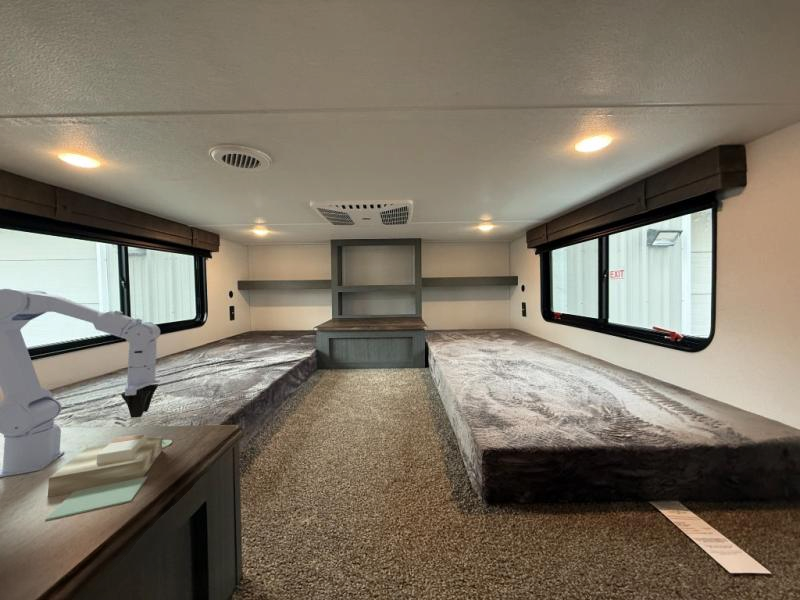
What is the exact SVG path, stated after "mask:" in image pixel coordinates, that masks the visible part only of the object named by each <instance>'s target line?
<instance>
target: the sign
mask: <svg viewBox="0 0 800 600" xmlns="http://www.w3.org/2000/svg"><path fill="white" fill-rule="evenodd" d="M172 441H173V440H171V439H162V449H165V448H167V447H169V445H170V444H171V443H172V444H173V442H172ZM172 444H171V445H172ZM171 445H170V446H171Z"/></svg>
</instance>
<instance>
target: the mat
mask: <svg viewBox="0 0 800 600" xmlns="http://www.w3.org/2000/svg"><path fill="white" fill-rule="evenodd" d="M147 479H148V476H143V477H142V478H137V479H132V480H127V481H122V482H117V483H112V484H107V485H102V486H97V487H92V488H87V489H82V490H77V491H74V492H72V493H70V495H68V497H66V498H65V500H63V501H62V502H61V503H60V505H58V506H57V507H56V508H55V509H54V510H53V511H52V512H51V513H50V514H49V515H48V516H46V517H45V519H44V522H47V521H50V520H54V519H55V520H56V519H59V518H64V517H68V516H72V515H78V514H82V513H86V512H91V511H94V510H100V509H103V508H107V507H113V506H116V505H121V504H126V503H130V502H132V501H133V500H134V498H135V496H136V495H137V494H138V492H139V491H140V489H141V487H143V484H144V483H146V480H147Z"/></svg>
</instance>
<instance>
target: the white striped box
mask: <svg viewBox="0 0 800 600" xmlns="http://www.w3.org/2000/svg"><path fill="white" fill-rule="evenodd" d="M146 438H147V433H142V434H136V435H129V436H128V435H127V436H123V437H115V438H114V439H113V440H112V441H111V442H110V443H108V444H109V445H108V446H106V447H105V448H104V449H103V450H102V451H101V452H100V453H98V454H97V463H103V462H109V461H115V460H121V459H126V458H131V457H132V456H133V455H134V454H135V453H136V452H137V451H138V450H139V448H140V447H141V446H142V445H143V444H144V443H145V442H146ZM97 463H96V464H97Z"/></svg>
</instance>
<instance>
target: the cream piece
mask: <svg viewBox="0 0 800 600" xmlns="http://www.w3.org/2000/svg"><path fill="white" fill-rule="evenodd" d="M162 440H163V435H161V436H154V437H146V442H145V443H144V444H143V445H142V446H141V447H140V448H139V450H138V451H137V452H136V453H135V454H134V455H133V456H132V457H131V458H126V459H121V460H115V461H109V462H103V463H97V454H98V453H100V452H101V451H102V450H103V449H104V448H105V447H106V446H108V445H109V444H110V443H108V444H102V445H95V446H89V447H88V446H87V447H86V448H85V449H84V450H82V451H81V452H79V453H78V454H77V455H76V456H75V457H73V458H72V459H71V460H69V461H68V462H67V463H66V464H64V465H63V466H62V467H60V468H59V469H58V470H57V471H55V472H54V473H52V475H50V476H49V477H48V484H47V486H48V488H47V498H51V497H56V496H61V495H65V494H72V493H73V492H74V491H77V490H82V489H87V488H92V487H97V486H102V485H107V484H112V483H117V482H122V481H127V480H132V479H137V478H142V477H145V475H146V473H147V472H148V471H149V469H150V468H151V467H152V465H153V464H154V462H155V461H156V460H157V458H158V457H159V455H160V454H161V452H162V451H163V448H162ZM96 463H97V464H96Z"/></svg>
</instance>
